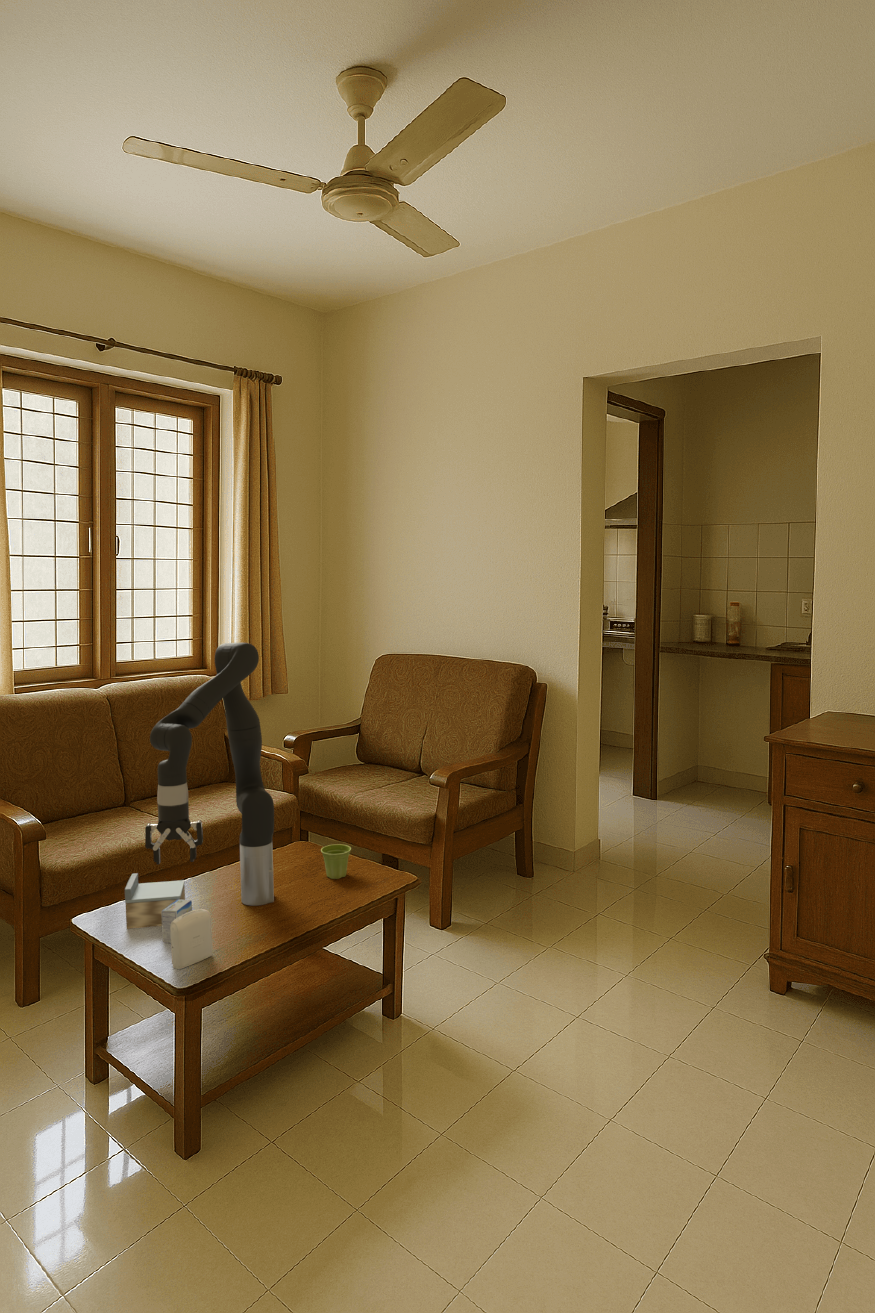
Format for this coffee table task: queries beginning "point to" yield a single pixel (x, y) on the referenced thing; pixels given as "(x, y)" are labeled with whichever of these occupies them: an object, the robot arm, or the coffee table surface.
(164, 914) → the medicine box
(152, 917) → the wooden box
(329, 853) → the plant pot
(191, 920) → the photo printer
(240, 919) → the coffee table surface
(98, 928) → the coffee table surface
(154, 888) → the lid
